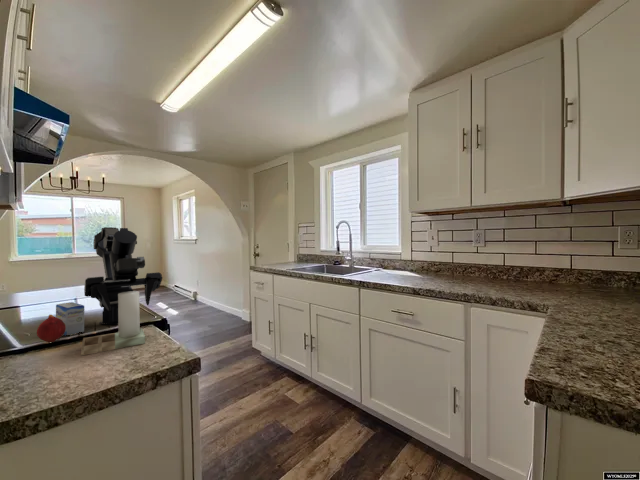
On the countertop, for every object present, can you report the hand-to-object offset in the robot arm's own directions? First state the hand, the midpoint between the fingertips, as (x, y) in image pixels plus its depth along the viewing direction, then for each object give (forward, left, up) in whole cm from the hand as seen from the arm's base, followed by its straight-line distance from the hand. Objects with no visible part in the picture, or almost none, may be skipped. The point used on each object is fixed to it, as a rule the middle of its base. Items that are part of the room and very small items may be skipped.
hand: (129, 307), depth 78 cm
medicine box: (-3, -24, -10) cm, 26 cm away
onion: (+5, -20, -10) cm, 23 cm away
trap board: (+2, -2, -10) cm, 11 cm away
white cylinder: (0, 0, -8) cm, 8 cm away
